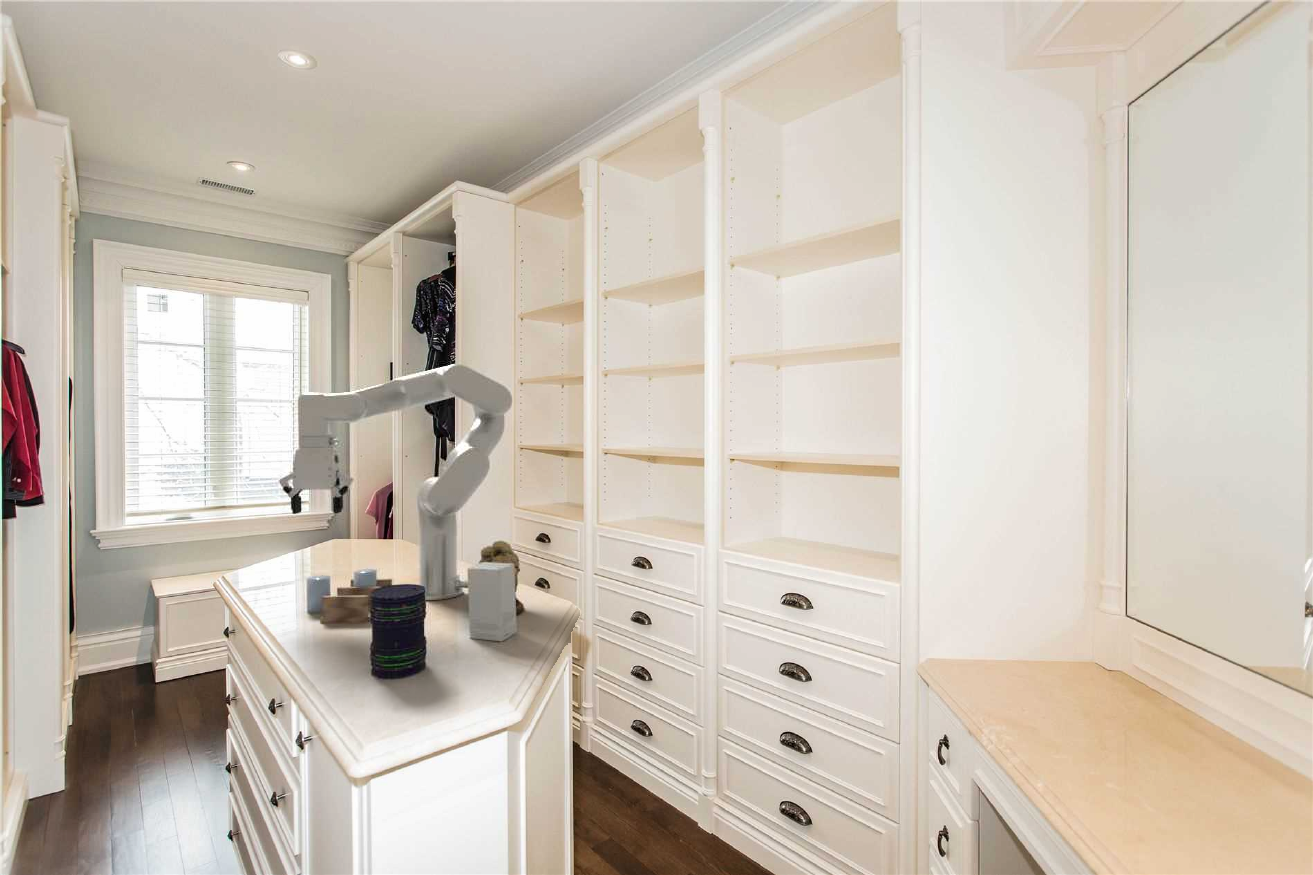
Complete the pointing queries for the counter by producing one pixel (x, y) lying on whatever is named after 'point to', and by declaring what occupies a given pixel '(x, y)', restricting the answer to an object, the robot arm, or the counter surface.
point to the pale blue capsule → (365, 578)
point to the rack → (350, 603)
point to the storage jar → (397, 631)
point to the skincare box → (492, 601)
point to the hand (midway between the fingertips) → (317, 512)
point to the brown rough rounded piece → (503, 554)
